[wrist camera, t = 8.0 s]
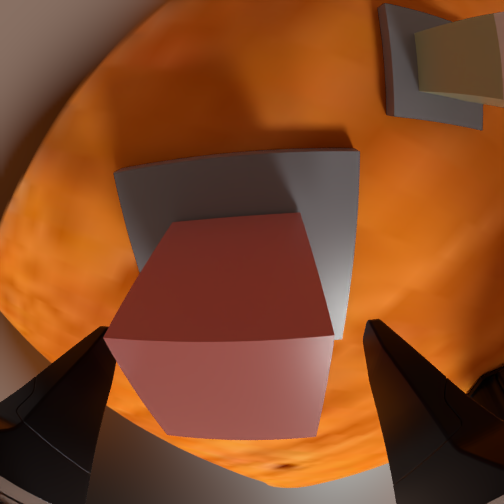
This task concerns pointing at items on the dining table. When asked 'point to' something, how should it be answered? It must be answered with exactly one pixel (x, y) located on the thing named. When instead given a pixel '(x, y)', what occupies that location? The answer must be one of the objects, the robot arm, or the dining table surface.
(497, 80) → the grey base with block
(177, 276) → the red rectangular block
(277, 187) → the grey plate with post
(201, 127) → the dining table surface
